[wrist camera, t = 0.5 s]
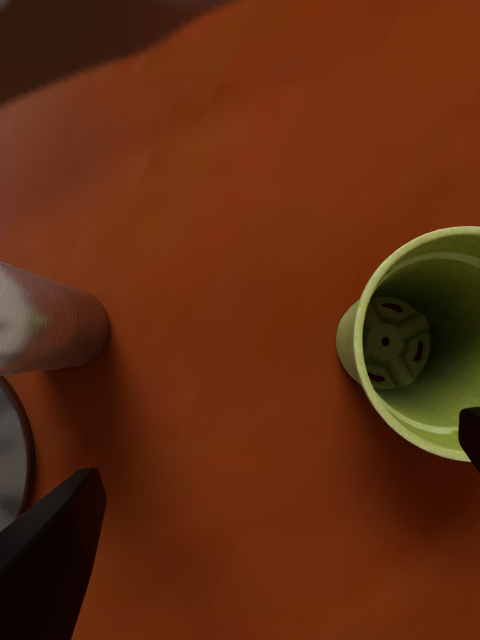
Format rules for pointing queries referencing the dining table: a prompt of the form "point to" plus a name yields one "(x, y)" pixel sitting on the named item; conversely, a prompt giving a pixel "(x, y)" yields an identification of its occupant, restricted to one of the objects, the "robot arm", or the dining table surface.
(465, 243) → the plant pot
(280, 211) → the dining table surface
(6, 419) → the plate
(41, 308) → the capped frosted bottle
